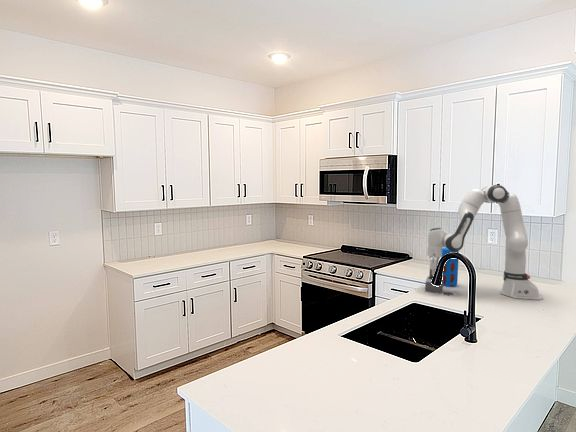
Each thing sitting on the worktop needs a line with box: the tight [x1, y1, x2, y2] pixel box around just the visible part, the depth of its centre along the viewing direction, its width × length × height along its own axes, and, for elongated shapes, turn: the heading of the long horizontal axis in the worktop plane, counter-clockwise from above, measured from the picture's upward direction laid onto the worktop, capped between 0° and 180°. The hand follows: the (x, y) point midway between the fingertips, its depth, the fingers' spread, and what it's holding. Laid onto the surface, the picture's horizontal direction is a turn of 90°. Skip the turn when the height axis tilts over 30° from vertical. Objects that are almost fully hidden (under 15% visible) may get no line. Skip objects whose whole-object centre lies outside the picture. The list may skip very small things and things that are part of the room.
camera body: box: [424, 276, 444, 294], centre depth 253 cm, size 10×9×8 cm
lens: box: [428, 269, 433, 279], centre depth 252 cm, size 5×5×8 cm
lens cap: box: [443, 291, 454, 296], centre depth 245 cm, size 6×6×1 cm
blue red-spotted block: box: [440, 247, 460, 288], centre depth 267 cm, size 11×11×25 cm
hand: (433, 274), depth 253 cm, fingers closed on lens, 5 cm apart
